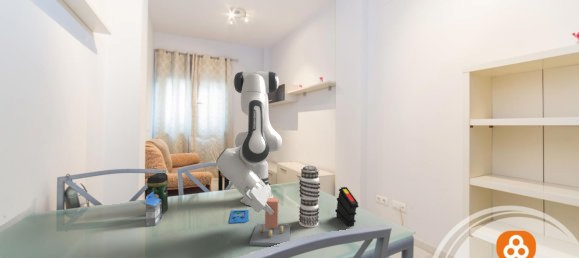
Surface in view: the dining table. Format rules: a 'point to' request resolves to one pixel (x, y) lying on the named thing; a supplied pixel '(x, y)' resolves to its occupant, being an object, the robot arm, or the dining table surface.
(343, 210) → the black ribbed casing
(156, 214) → the label tape box
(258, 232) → the plate
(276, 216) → the salmon pink block
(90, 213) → the dining table surface
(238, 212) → the handheld gaming device
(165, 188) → the coffee jar
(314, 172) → the decorative candle
